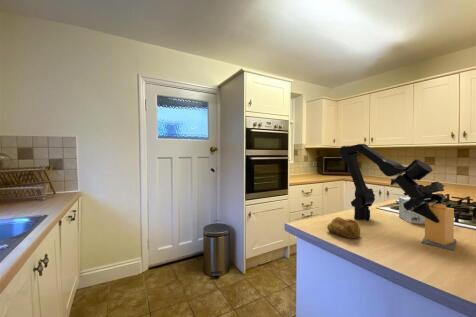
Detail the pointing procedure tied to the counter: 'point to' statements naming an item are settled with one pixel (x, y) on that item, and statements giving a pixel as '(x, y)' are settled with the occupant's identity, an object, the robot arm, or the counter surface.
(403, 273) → the counter surface
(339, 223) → the bread roll
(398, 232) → the counter surface
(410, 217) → the light bulb box
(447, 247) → the plate
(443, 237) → the orange toy brick
